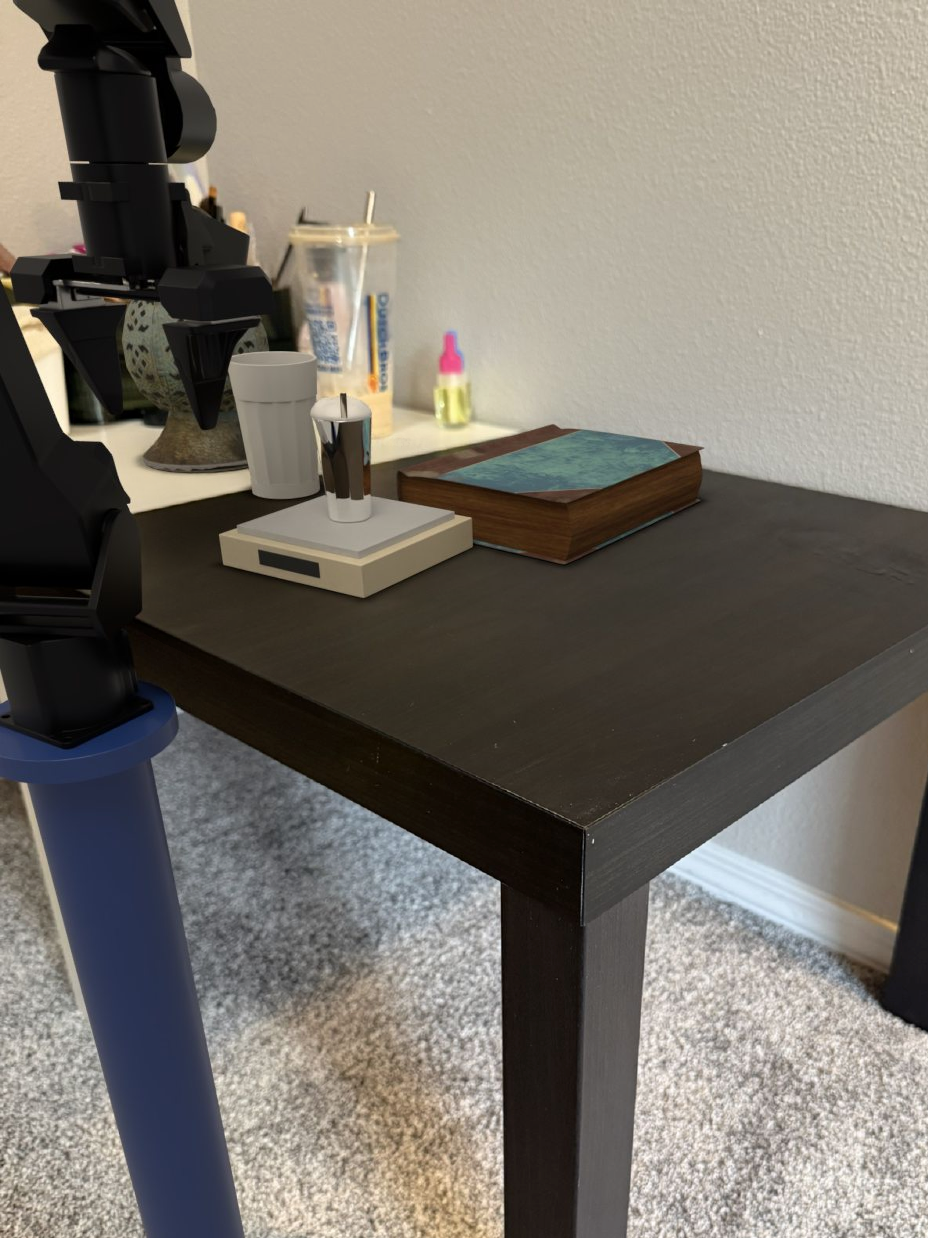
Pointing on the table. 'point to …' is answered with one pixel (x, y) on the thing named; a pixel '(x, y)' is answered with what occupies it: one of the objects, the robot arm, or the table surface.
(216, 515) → the table surface
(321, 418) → the milkshake
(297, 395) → the cup
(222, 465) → the lantern
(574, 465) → the book
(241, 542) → the scale
